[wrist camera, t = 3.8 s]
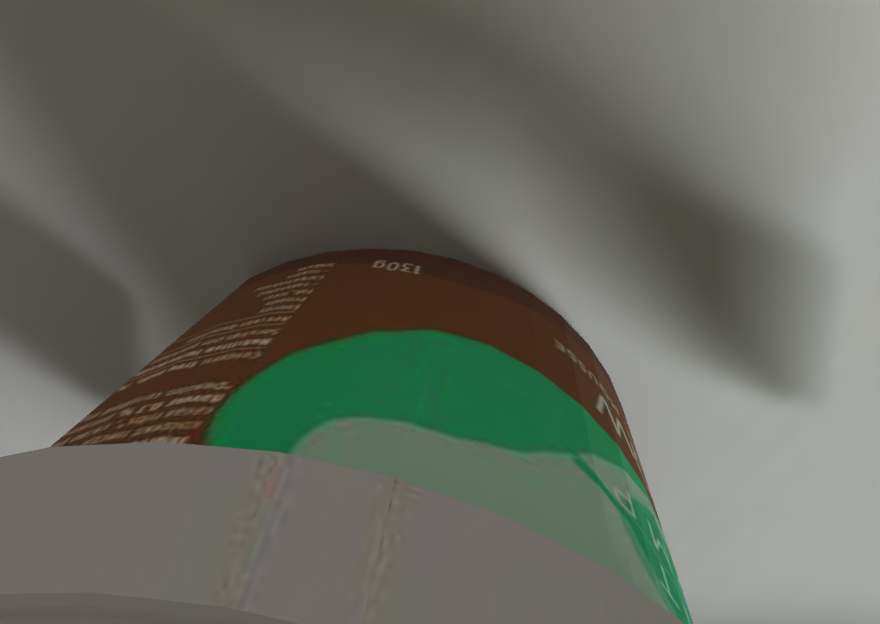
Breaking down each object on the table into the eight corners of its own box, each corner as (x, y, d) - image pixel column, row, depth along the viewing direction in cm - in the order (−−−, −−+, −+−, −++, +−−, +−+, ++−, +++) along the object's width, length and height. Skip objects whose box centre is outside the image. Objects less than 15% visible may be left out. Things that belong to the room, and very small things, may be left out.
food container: (787, 589, 17) (1084, 1361, 8) (518, 671, 19) (507, 1377, 10) (514, 34, 13) (475, 320, 4) (201, 209, 14) (-339, 689, 5)
